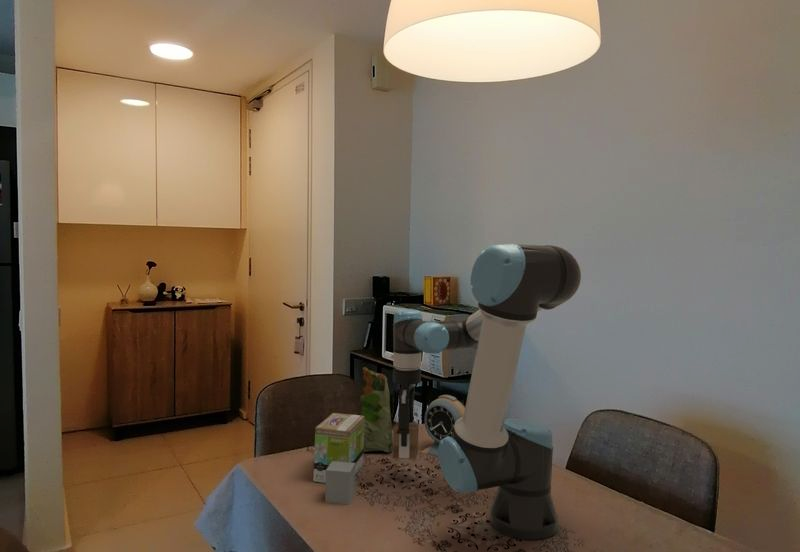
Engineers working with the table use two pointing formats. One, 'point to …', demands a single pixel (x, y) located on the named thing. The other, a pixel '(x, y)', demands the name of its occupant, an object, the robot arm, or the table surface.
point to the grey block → (340, 482)
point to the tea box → (338, 443)
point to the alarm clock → (441, 420)
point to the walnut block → (413, 441)
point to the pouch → (376, 412)
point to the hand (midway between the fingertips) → (405, 453)
